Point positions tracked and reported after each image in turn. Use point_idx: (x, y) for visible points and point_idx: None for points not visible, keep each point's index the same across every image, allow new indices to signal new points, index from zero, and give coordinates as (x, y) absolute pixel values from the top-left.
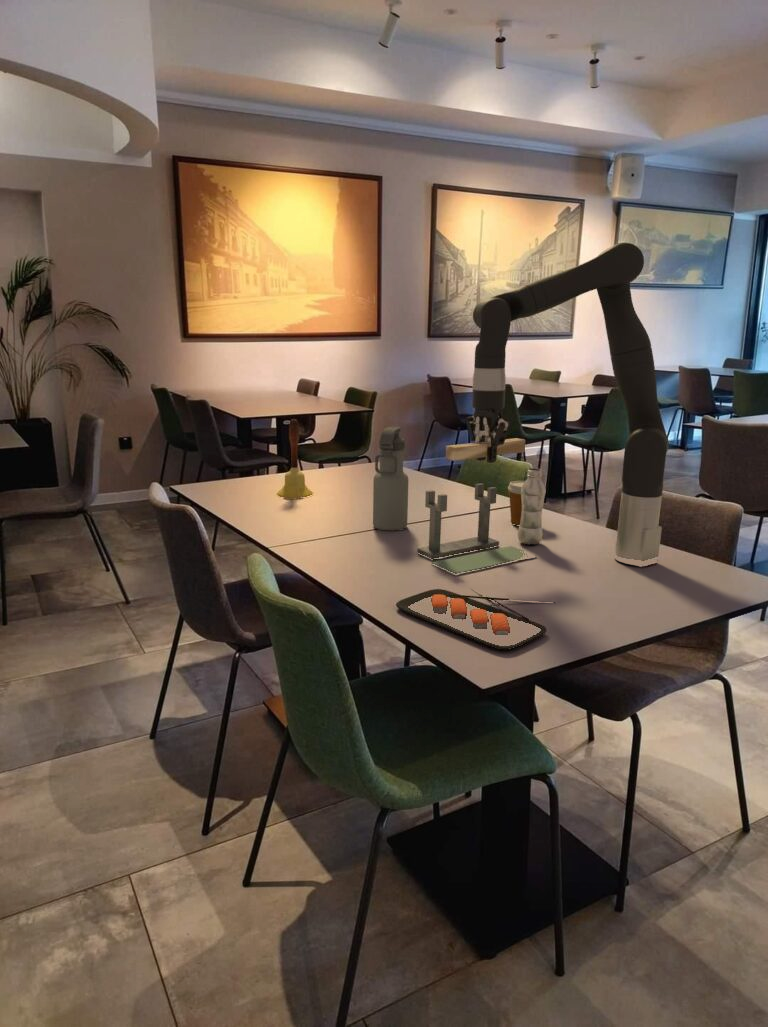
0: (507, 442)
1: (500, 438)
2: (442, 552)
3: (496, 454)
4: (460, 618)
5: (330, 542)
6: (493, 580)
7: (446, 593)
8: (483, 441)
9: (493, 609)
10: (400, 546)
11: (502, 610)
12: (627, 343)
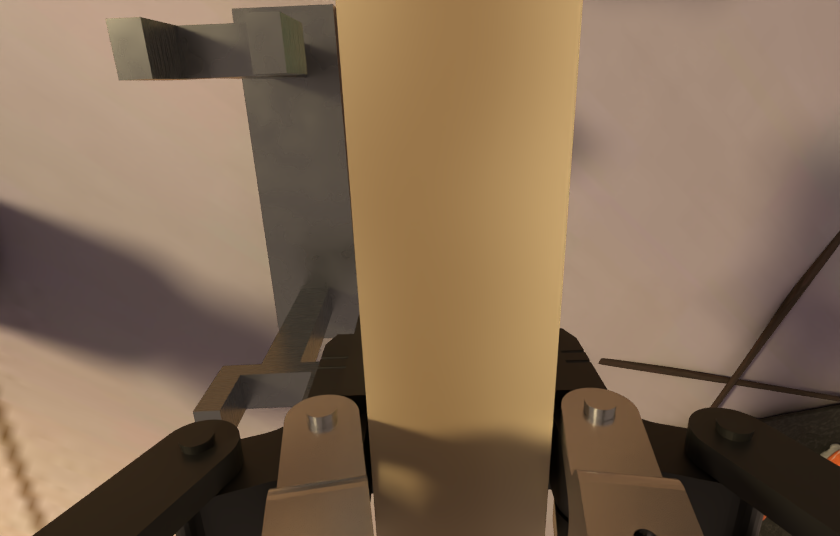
0: (565, 157)
1: (747, 497)
2: (356, 294)
3: (588, 362)
4: None
5: (75, 486)
6: (605, 272)
7: None
8: (366, 463)
9: (779, 424)
10: (187, 333)
11: (803, 416)
12: None
